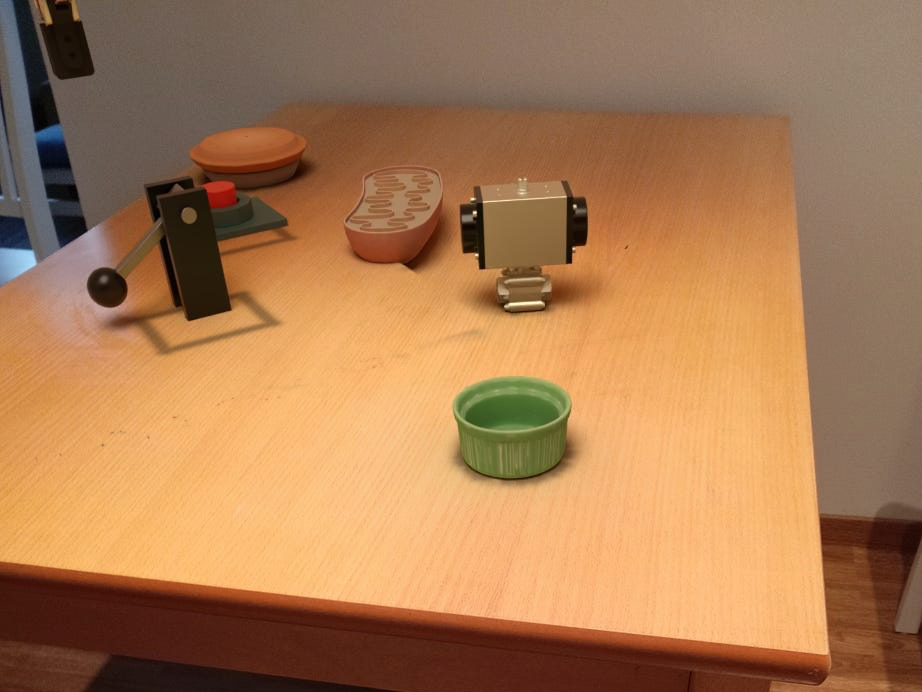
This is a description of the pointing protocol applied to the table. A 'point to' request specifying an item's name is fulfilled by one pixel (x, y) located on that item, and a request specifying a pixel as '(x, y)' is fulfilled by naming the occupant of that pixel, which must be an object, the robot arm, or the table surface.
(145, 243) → the lever
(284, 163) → the pie
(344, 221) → the anatomical model
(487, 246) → the pneumatic valve
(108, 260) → the table surface
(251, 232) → the button box
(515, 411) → the ramekin
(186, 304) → the bracket
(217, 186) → the button
